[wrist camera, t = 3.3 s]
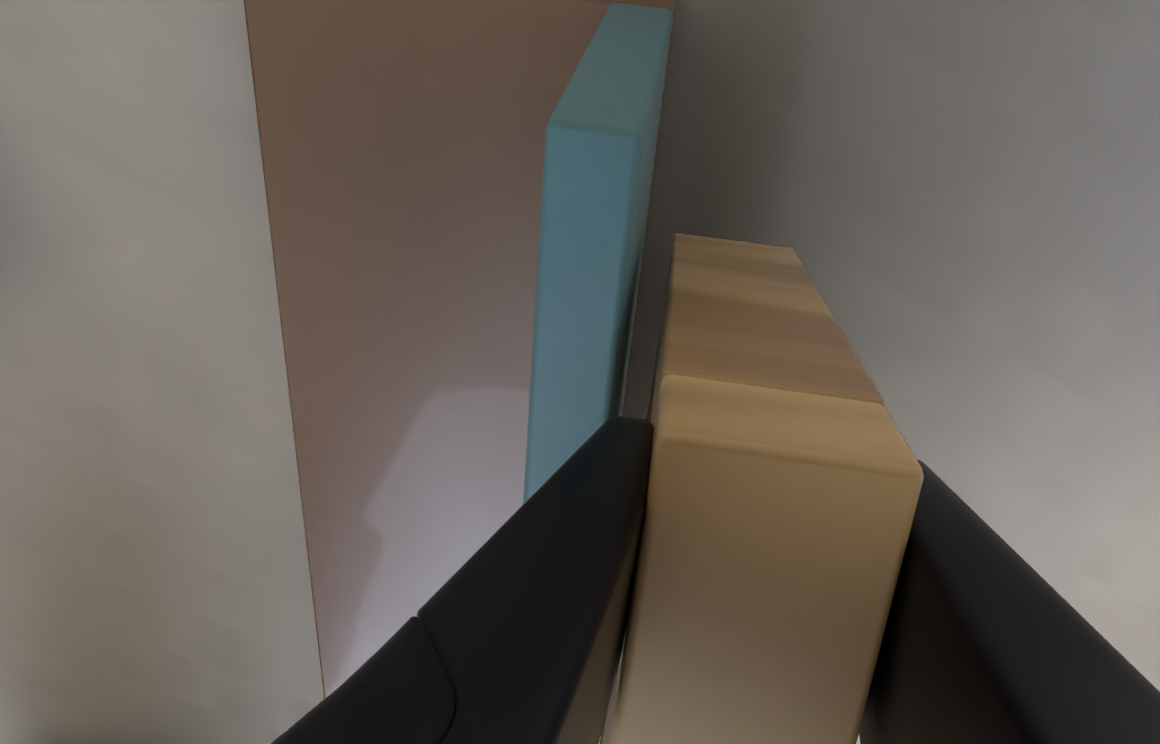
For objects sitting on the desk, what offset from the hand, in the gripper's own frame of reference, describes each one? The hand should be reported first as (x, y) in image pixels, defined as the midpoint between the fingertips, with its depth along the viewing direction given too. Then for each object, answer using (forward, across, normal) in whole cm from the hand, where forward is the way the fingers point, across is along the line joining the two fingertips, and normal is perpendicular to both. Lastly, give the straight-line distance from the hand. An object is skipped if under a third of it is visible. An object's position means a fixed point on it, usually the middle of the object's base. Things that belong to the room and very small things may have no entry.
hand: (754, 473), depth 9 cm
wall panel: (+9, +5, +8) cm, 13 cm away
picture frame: (+5, 0, +10) cm, 11 cm away
